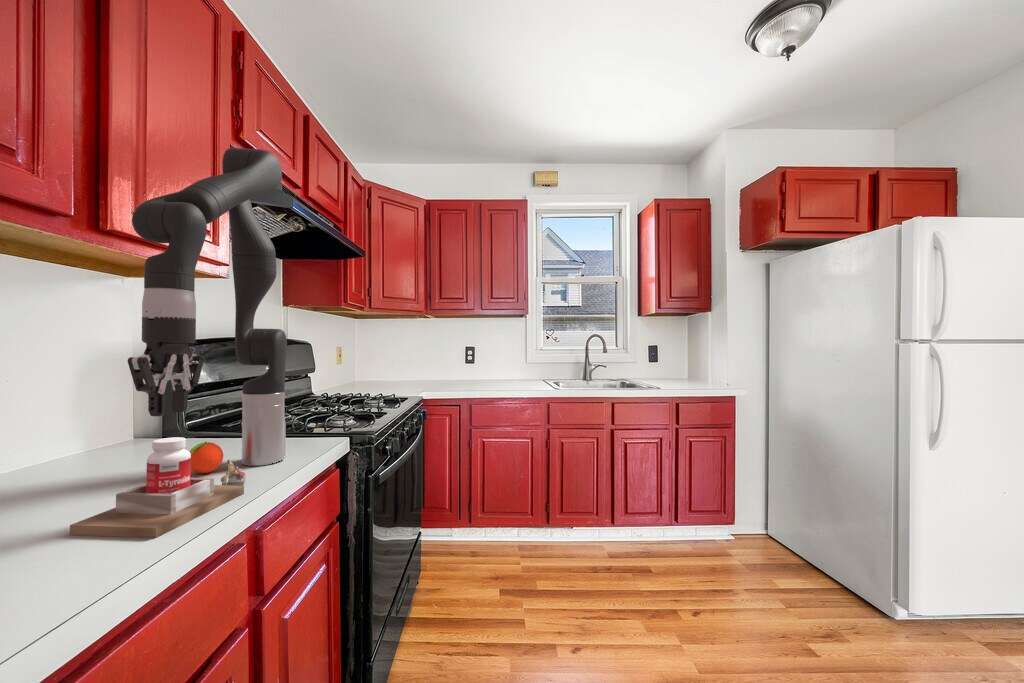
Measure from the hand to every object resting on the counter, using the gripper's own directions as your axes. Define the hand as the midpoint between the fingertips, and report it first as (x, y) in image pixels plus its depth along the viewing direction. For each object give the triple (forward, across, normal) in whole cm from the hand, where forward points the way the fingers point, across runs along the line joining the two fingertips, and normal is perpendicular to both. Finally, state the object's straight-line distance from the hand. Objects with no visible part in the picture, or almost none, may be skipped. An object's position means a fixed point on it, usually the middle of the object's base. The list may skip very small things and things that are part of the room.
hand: (168, 413), depth 78 cm
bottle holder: (+17, 0, 0) cm, 17 cm away
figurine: (+18, -14, +2) cm, 23 cm away
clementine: (+17, -22, -11) cm, 30 cm away
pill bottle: (+16, 0, 0) cm, 16 cm away
